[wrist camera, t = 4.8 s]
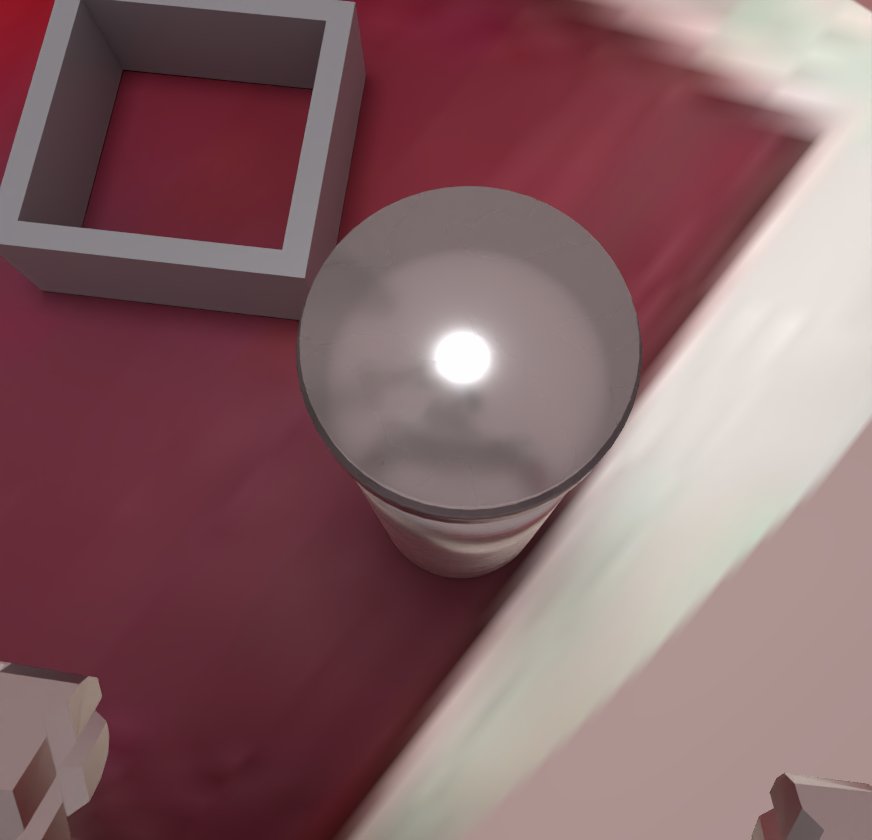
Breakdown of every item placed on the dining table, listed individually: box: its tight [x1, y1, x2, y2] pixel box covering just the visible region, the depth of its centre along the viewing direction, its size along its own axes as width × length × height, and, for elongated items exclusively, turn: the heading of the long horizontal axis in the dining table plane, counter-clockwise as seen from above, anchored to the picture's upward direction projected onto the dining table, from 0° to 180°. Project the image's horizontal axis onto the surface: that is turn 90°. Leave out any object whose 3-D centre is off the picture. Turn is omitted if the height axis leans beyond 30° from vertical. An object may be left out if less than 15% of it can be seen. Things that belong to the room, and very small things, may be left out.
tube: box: [296, 186, 642, 579], centre depth 19 cm, size 5×5×14 cm
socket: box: [0, 0, 366, 320], centre depth 27 cm, size 10×10×4 cm
